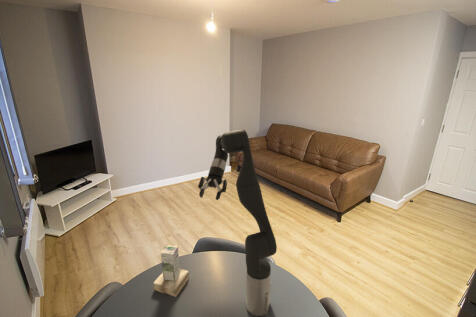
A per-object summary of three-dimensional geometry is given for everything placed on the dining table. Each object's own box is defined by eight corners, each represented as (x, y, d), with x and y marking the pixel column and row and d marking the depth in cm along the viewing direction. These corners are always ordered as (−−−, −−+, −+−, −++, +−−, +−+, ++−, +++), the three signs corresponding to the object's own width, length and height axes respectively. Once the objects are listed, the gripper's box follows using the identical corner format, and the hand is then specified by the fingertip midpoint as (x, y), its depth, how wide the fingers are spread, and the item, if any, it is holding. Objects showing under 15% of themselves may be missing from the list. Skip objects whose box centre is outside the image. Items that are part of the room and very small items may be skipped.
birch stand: (189, 278, 108) (188, 271, 106) (175, 297, 97) (175, 289, 96) (169, 272, 111) (168, 265, 110) (154, 290, 101) (153, 282, 100)
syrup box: (180, 272, 106) (178, 245, 102) (175, 282, 100) (172, 254, 96) (169, 270, 106) (166, 244, 103) (163, 280, 101) (160, 252, 97)
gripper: (202, 164, 118) (192, 193, 111) (228, 167, 114) (220, 197, 107) (207, 171, 125) (198, 199, 117) (232, 173, 120) (224, 203, 113)
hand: (208, 198), depth 112 cm, fingers open, 8 cm apart
